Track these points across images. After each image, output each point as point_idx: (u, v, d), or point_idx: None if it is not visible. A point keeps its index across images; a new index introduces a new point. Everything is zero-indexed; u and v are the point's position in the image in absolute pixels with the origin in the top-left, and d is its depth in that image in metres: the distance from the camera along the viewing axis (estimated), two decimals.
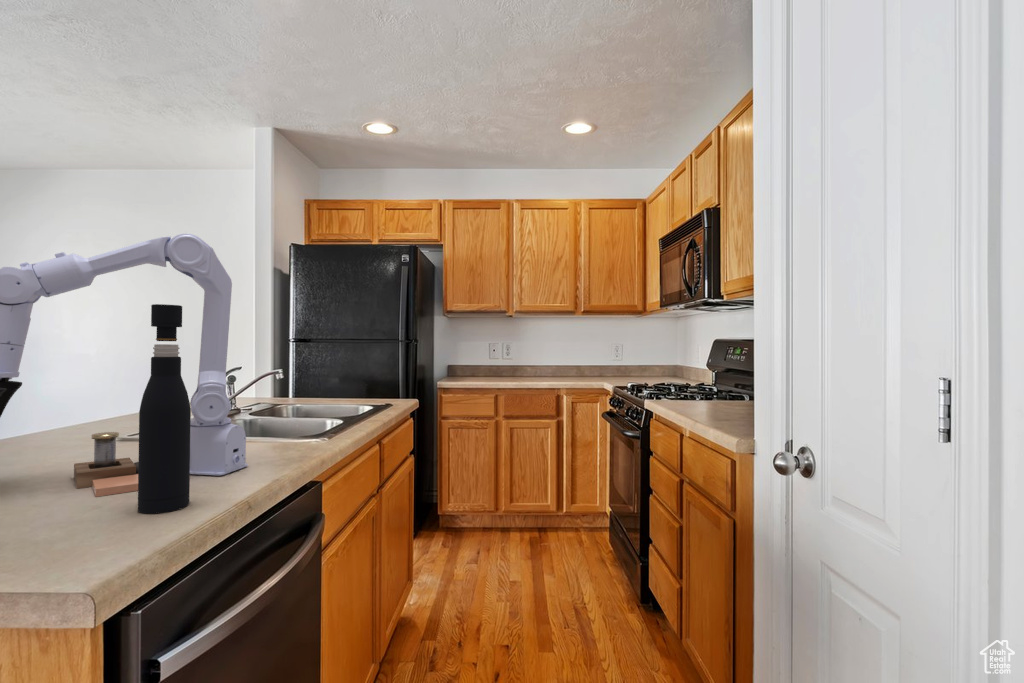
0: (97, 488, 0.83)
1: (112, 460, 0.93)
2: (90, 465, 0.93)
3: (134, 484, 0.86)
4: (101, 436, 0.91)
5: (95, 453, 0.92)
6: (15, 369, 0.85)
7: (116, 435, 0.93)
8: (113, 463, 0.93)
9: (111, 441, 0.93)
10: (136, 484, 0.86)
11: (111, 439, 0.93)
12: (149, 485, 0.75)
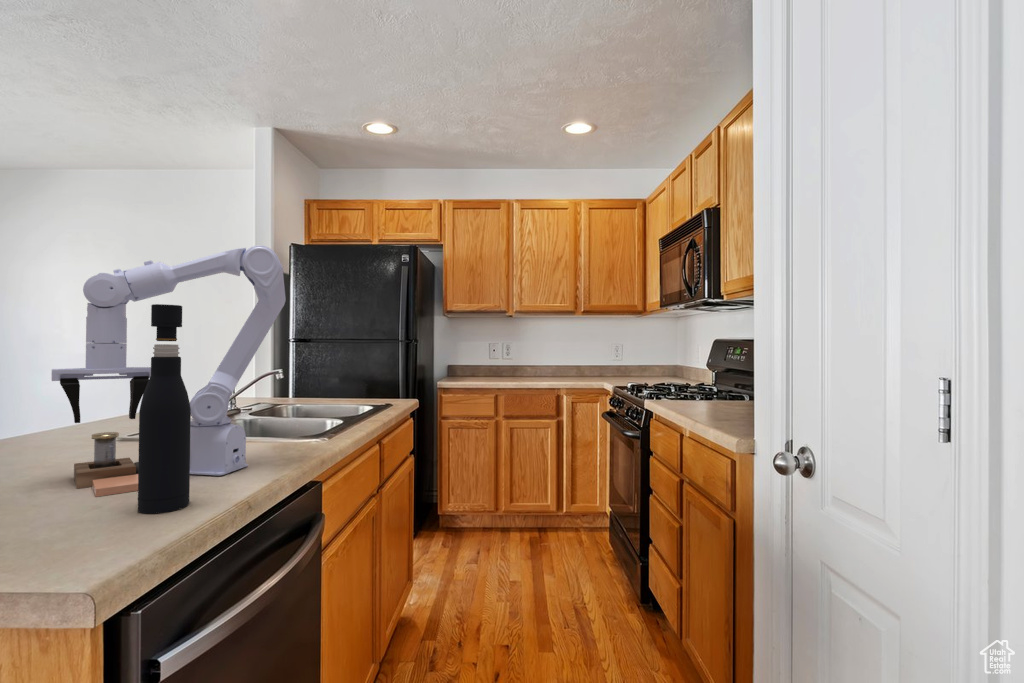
0: (97, 488, 0.83)
1: (112, 460, 0.93)
2: (90, 465, 0.93)
3: (134, 484, 0.86)
4: (101, 436, 0.91)
5: (95, 453, 0.92)
6: (101, 366, 0.90)
7: (116, 435, 0.93)
8: (113, 463, 0.93)
9: (111, 441, 0.93)
10: (136, 484, 0.86)
11: (111, 439, 0.93)
12: (149, 485, 0.75)
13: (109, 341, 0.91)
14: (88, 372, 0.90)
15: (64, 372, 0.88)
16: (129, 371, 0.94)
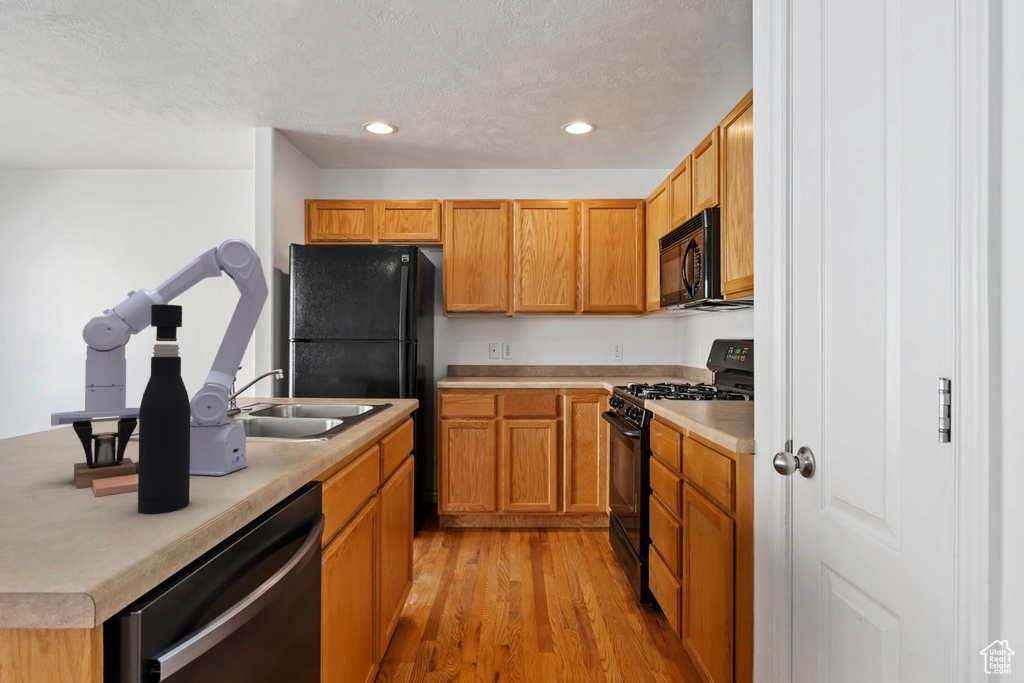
0: (97, 488, 0.83)
1: (112, 460, 0.93)
2: (90, 465, 0.93)
3: (134, 484, 0.86)
4: (101, 436, 0.91)
5: (95, 453, 0.92)
6: (100, 409, 0.90)
7: (116, 435, 0.93)
8: (113, 463, 0.93)
9: (111, 441, 0.93)
10: (136, 484, 0.86)
11: (111, 439, 0.93)
12: (149, 485, 0.75)
13: (108, 384, 0.91)
14: (87, 416, 0.90)
15: (63, 416, 0.88)
16: (128, 413, 0.94)
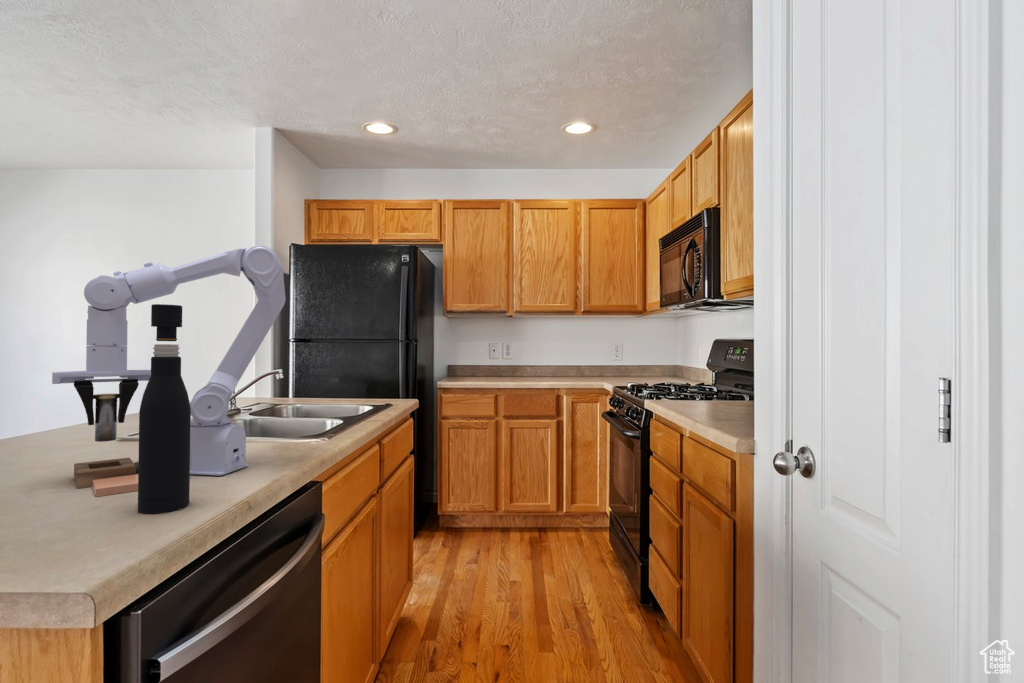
0: (97, 488, 0.83)
1: (114, 420, 0.93)
2: (90, 465, 0.93)
3: (134, 484, 0.86)
4: (102, 396, 0.91)
5: (96, 413, 0.92)
6: (101, 369, 0.90)
7: (117, 396, 0.93)
8: (114, 424, 0.93)
9: (112, 401, 0.92)
10: (136, 484, 0.86)
11: (112, 400, 0.92)
12: (149, 485, 0.75)
13: (110, 344, 0.91)
14: (89, 375, 0.89)
15: (65, 375, 0.88)
16: (130, 374, 0.93)
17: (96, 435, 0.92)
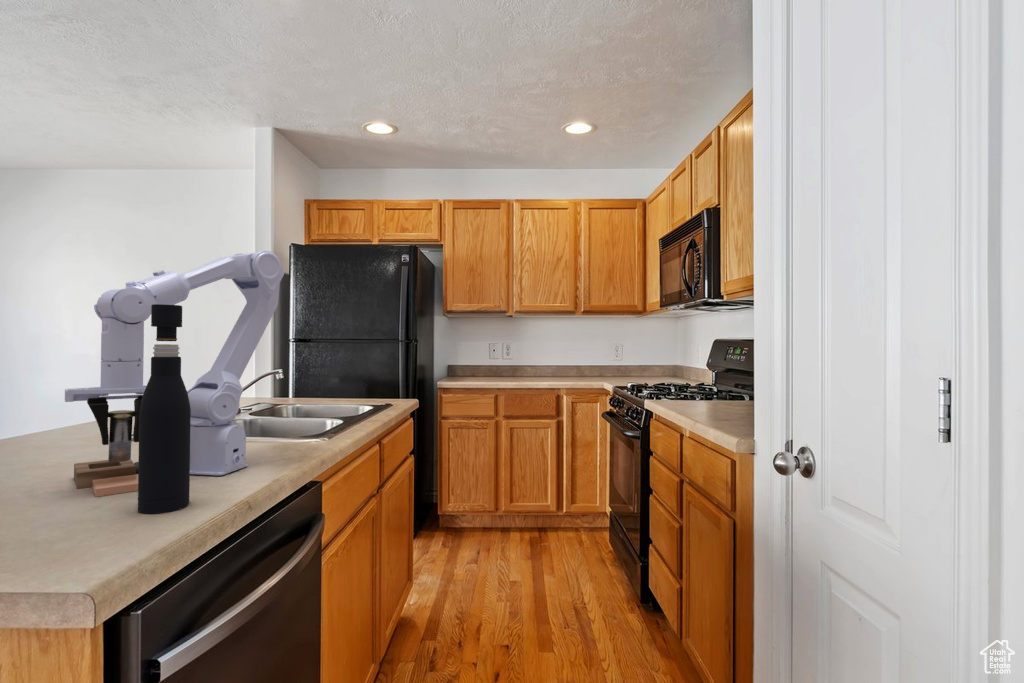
0: (97, 488, 0.83)
1: (128, 440, 0.88)
2: (90, 465, 0.93)
3: (134, 484, 0.86)
4: (117, 415, 0.86)
5: (110, 432, 0.87)
6: (117, 385, 0.85)
7: (133, 414, 0.88)
8: (129, 443, 0.88)
9: (127, 420, 0.87)
10: (136, 484, 0.86)
11: (128, 418, 0.87)
12: (149, 485, 0.75)
13: (136, 359, 0.87)
14: (103, 392, 0.84)
15: (78, 392, 0.83)
16: None
17: (110, 455, 0.87)
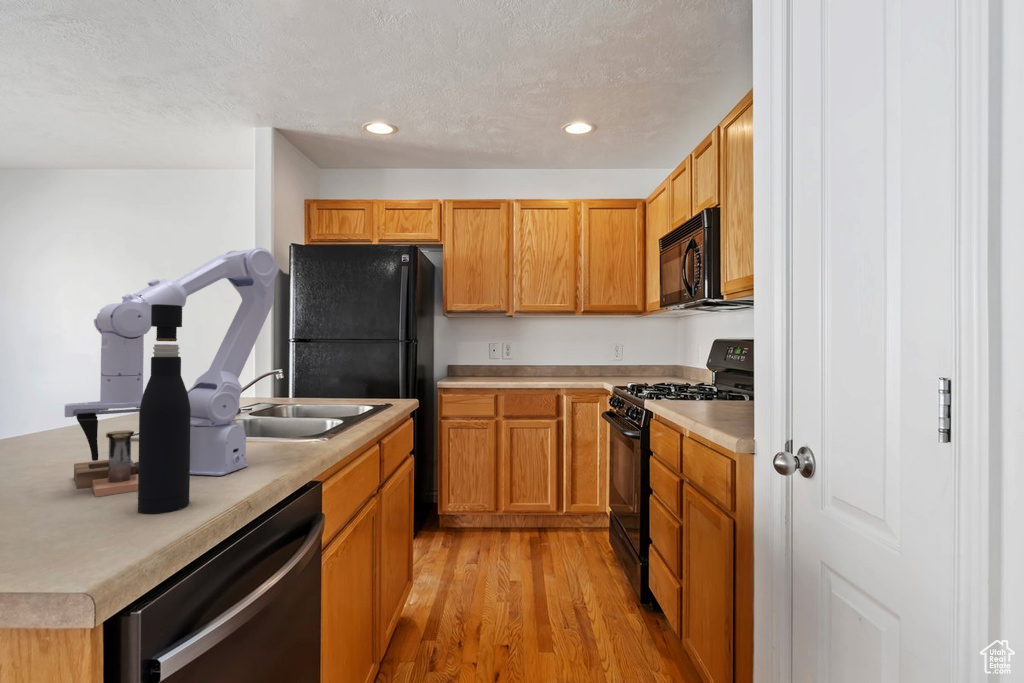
0: (97, 488, 0.83)
1: (128, 460, 0.88)
2: (90, 465, 0.93)
3: (134, 484, 0.86)
4: (116, 434, 0.86)
5: (109, 452, 0.87)
6: (117, 400, 0.85)
7: (132, 433, 0.88)
8: (128, 463, 0.88)
9: (126, 439, 0.88)
10: (136, 484, 0.86)
11: (126, 438, 0.88)
12: (149, 485, 0.75)
13: (136, 373, 0.87)
14: (103, 407, 0.84)
15: (78, 407, 0.83)
16: None
17: (110, 476, 0.87)
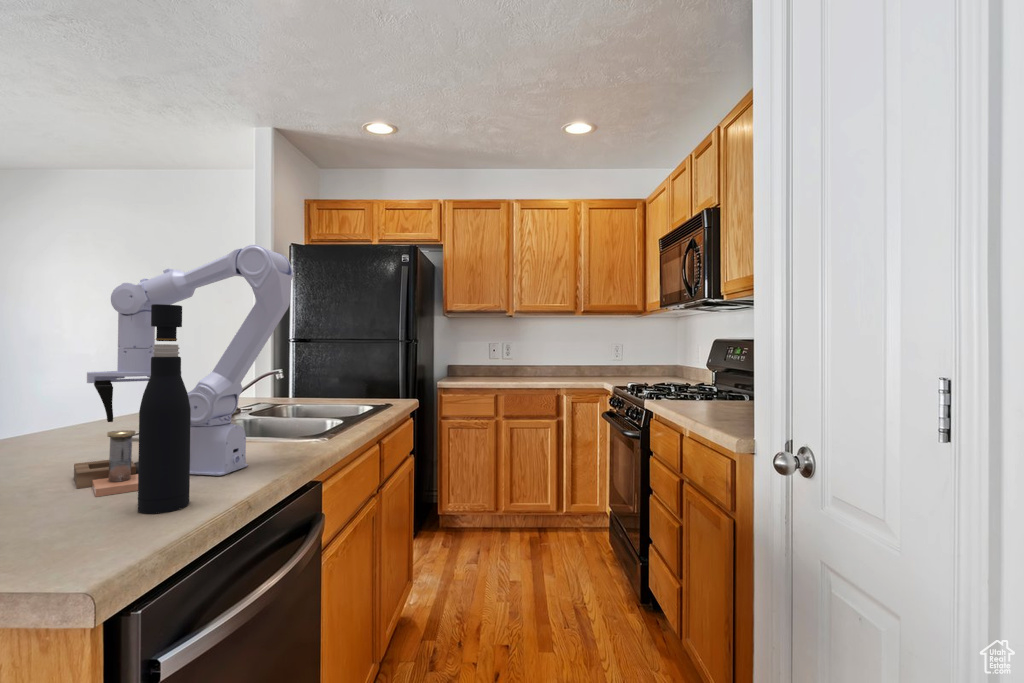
0: (97, 488, 0.83)
1: (128, 459, 0.88)
2: (90, 465, 0.93)
3: (134, 484, 0.86)
4: (117, 434, 0.87)
5: (110, 451, 0.87)
6: (132, 369, 0.98)
7: (133, 433, 0.88)
8: (129, 463, 0.88)
9: (127, 439, 0.88)
10: (136, 484, 0.86)
11: (128, 437, 0.88)
12: (149, 485, 0.75)
13: (131, 346, 0.98)
14: (120, 375, 0.97)
15: (99, 375, 0.96)
16: None
17: (110, 475, 0.87)
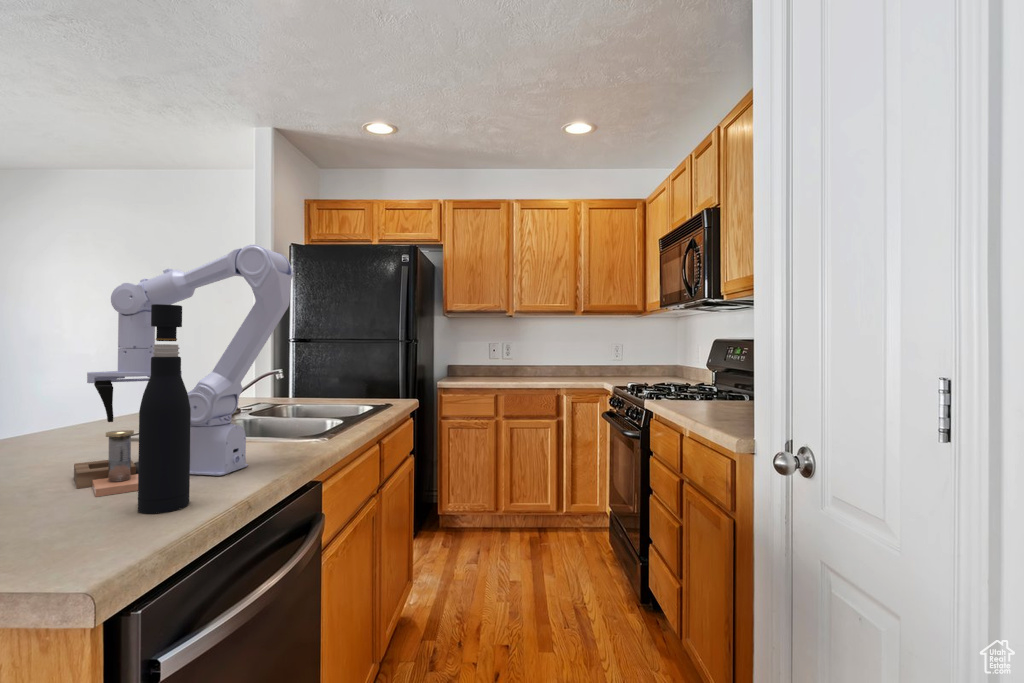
0: (97, 488, 0.83)
1: (127, 459, 0.88)
2: (90, 465, 0.93)
3: (134, 484, 0.86)
4: (115, 433, 0.87)
5: (109, 451, 0.87)
6: (132, 369, 0.98)
7: (131, 433, 0.88)
8: (128, 462, 0.88)
9: (125, 438, 0.88)
10: (136, 484, 0.86)
11: (126, 437, 0.88)
12: (149, 485, 0.75)
13: (131, 346, 0.98)
14: (120, 375, 0.97)
15: (99, 375, 0.96)
16: None
17: (109, 475, 0.87)
